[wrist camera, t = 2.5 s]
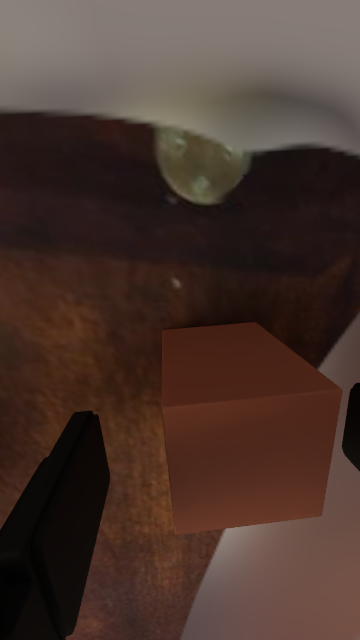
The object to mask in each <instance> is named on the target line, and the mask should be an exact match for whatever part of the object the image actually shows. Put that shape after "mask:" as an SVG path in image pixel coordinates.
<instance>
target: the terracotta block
mask: <svg viewBox="0 0 360 640" xmlns="http://www.w3.org/2000/svg"><path fill="white" fill-rule="evenodd" d="M341 396H342V389H341V388H339V387H338V386H337V385H336V384H335V383H333V382H332V381H331V380H329V379H328V378H327V377H326V376H324V375H323V374H322V373H320V372H319V371H318V370H317V369H315V368H314V367H313V366H311V365H310V364H309V363H308V362H306V361H305V360H304V359H302V358H301V357H300V356H299V355H297V354H296V353H295V352H293V351H292V350H291V349H290V348H288V347H287V346H286V345H284V344H283V343H282V342H281V341H279V340H278V339H277V338H275V337H274V336H273V335H272V334H270V333H269V332H268V331H266V330H265V329H264V328H263V327H261V326H260V325H259V324H257V323H256V322H250V323H238V324H226V325H215V326H203V327H192V328H180V329H169V330H163V331H162V416H163V426H164V435H165V444H166V453H167V463H168V472H169V481H170V490H171V500H172V509H173V518H174V527H175V534H176V535H180V534H187V533H195V532H203V531H211V530H218V529H226V528H234V527H241V526H249V525H256V524H264V523H272V522H280V521H287V520H295V519H303V518H311V517H318V516H321V515H322V511H323V505H324V499H325V493H326V487H327V480H328V475H329V469H330V463H331V457H332V451H333V445H334V438H335V432H336V426H337V420H338V414H339V408H340V402H341Z"/></svg>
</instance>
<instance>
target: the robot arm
mask: <svg viewBox="0 0 360 640" xmlns="http://www.w3.org/2000/svg"><path fill="white" fill-rule="evenodd" d="M342 449H343V452H344V454H345V456H346V457H347V458H348V459H349V460H350V461H351V463H352V464H353V465H354V466H355V467H356V468H357V469H358V470H359V471H360V383H356V384H355V385H354V386H353V388H352V389H351V390H350V395H349V401H348V408H347V415H346V422H345V428H344V435H343V442H342ZM109 482H110V472H109V467H108V462H107V457H106V452H105V446H104V441H103V436H102V431H101V426H100V421H99V416H98V415H97V414H95V415H94V414H93V412H92V411H82V412H75V413H74V414H73V415H72V417H71V418H70V420H69V422H68V423H67V425H66V427H65V429H64V430H63V432H62V434H61V436H60V437H59V439H58V441H57V443H56V444H55V446H54V448H53V449H52V451H51V453H50V455H49V456H48V457H46V458H45V459H43V461H42V462H41V463H40V465H39V466H38V468H37V470H36V471H35V473H34V475H33V476H32V478H31V480H30V481H29V483H28V485H27V486H26V488H25V490H24V491H23V493H22V495H21V496H20V498H19V500H18V501H17V503H16V505H15V506H14V508H13V510H12V511H11V513H10V515H9V516H8V518H7V520H6V522H5V523H4V525H3V527H2V528H1V530H0V640H65V639H66V636H69V635H72V633H73V631H74V629H75V626H76V622H77V618H78V614H79V610H80V605H81V601H82V597H83V593H84V589H85V584H86V580H87V576H88V572H89V568H90V563H91V559H92V555H93V551H94V547H95V542H96V538H97V534H98V530H99V526H100V521H101V517H102V513H103V509H104V505H105V500H106V496H107V492H108V488H109Z"/></svg>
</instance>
